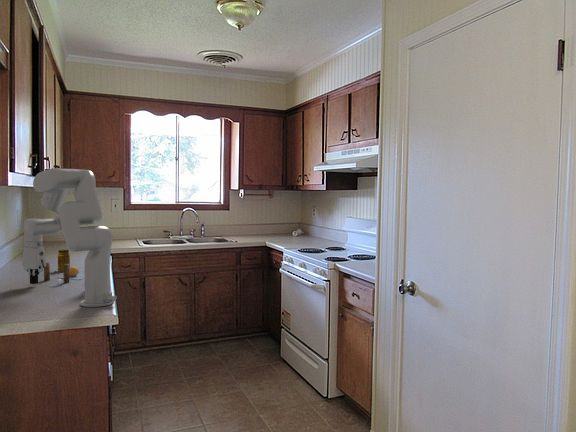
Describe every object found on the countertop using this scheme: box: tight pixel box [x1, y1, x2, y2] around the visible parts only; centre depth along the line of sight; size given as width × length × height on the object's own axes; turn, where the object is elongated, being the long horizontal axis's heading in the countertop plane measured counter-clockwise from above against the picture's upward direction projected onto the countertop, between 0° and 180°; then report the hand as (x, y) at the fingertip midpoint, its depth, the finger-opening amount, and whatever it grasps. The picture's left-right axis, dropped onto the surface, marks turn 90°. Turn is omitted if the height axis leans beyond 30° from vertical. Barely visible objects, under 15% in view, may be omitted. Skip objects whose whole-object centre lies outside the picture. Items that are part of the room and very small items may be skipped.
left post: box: [43, 261, 51, 282], centre depth 223 cm, size 3×3×9 cm
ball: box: [69, 265, 80, 277], centre depth 234 cm, size 6×6×6 cm
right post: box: [62, 264, 70, 284], centre depth 219 cm, size 3×3×9 cm
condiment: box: [57, 249, 71, 273], centre depth 251 cm, size 7×8×12 cm
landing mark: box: [56, 273, 85, 281], centre depth 234 cm, size 14×14×1 cm
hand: (34, 283), depth 209 cm, fingers closed
